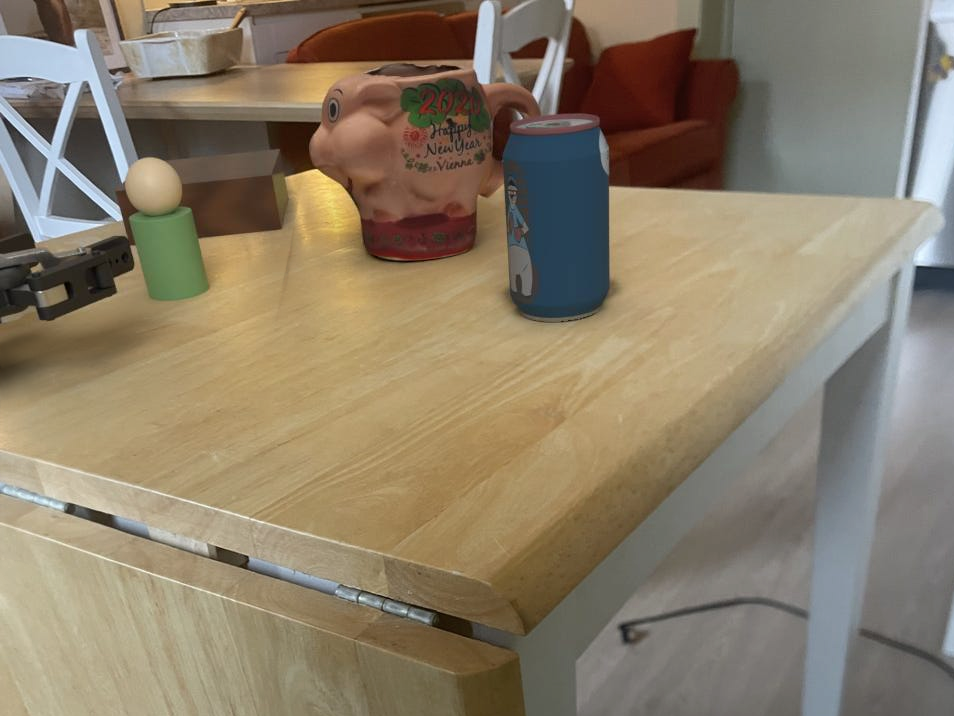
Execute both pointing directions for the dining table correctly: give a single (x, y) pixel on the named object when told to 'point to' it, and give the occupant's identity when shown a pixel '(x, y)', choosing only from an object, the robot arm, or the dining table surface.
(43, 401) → the dining table surface
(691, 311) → the dining table surface
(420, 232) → the pink ceramic mug
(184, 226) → the peg doll
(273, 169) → the walnut block
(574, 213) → the soda can
